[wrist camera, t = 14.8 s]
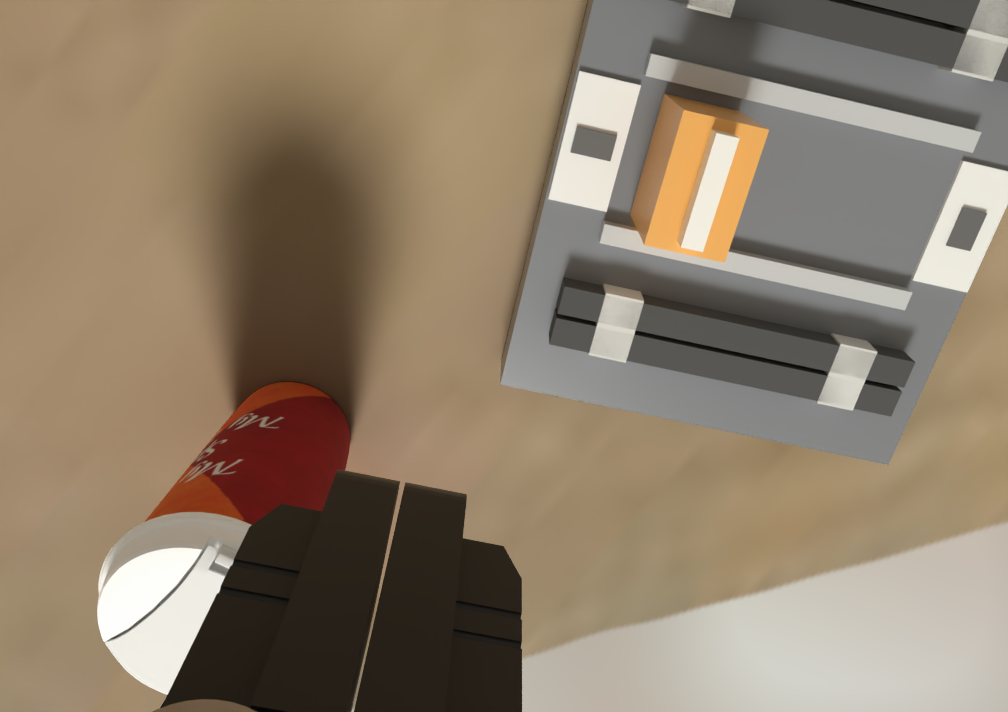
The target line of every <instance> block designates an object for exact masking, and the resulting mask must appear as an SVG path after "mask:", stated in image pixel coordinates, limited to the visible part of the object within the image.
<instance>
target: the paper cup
mask: <svg viewBox="0 0 1008 712" xmlns="http://www.w3.org/2000/svg"><path fill="white" fill-rule="evenodd" d="M349 447H350V430H349V425H348V422H347V419H346V417H345V415H344V413H343V411H342V410H341V408H340V407H339V406H338V404H337V403H336V402H335V401H334V400H333V399H332V398H331V397H329V396H328V395H327V394H325V393H324V392H322V391H321V390H319V389H317V388H315V387H312V386H310V385H307V384H303V383H298V382H278V383H273V384H269V385H267V386H264V387H262V388H260V389H258V390H257V391H255V392H254V393H253V394H251V395H250V396H249V397H248V398H247V399H246V400H245V401H244V402H243V403H242V404H241V405H240V406H239V407H238V409H237V410H236V411H235V412H234V413H233V414H232V415H231V417H230V418H229V419H228V420H227V421H226V423H225V424H224V425H223V426H222V427H221V429H220V430H219V431H218V432H217V433H216V435H215V436H214V437H213V438H212V440H211V441H210V442H209V443H208V444H207V446H206V447H205V448H204V449H203V451H202V452H201V453H200V454H199V455H198V457H197V458H196V459H195V460H194V462H193V463H192V464H191V465H190V466H189V468H188V469H187V470H186V471H185V473H184V474H183V475H182V476H181V478H180V479H179V480H178V481H177V483H176V484H175V485H174V486H173V487H172V489H171V490H170V491H169V492H168V494H167V495H166V496H165V497H164V499H163V500H162V501H161V502H160V504H159V505H158V506H157V507H156V508H155V510H154V511H153V512H152V513H151V515H150V516H149V517H148V518H147V520H146V521H145V522H144V523H142V524H140V525H138V526H136V527H134V528H133V529H131V530H130V531H129V532H127V533H126V534H124V535H123V536H122V537H121V538H120V539H119V540H118V541H117V543H116V544H115V545H114V546H113V547H112V549H111V550H110V552H109V553H108V555H107V557H106V558H105V560H104V563H103V566H102V569H101V572H100V578H99V585H98V587H99V599H98V606H97V615H98V625H99V629H100V632H101V636H102V639H103V641H104V642H105V641H106V642H105V644H106V645H107V647H108V648H109V650H110V651H111V652H112V654H113V655H114V657H115V658H116V659H117V660H118V661H119V663H120V664H121V665H122V666H123V667H124V669H125V670H126V671H128V672H129V673H130V674H131V675H132V676H133V677H134V678H136V679H137V680H139V681H140V682H142V683H143V684H145V685H147V686H148V687H151V688H153V689H155V690H157V691H159V692H161V693H164V694H167V695H168V693H169V691H170V689H171V687H172V685H173V683H174V681H175V679H176V676H177V674H178V672H179V670H180V668H181V666H182V664H183V662H184V660H185V658H186V656H187V654H188V652H189V650H190V648H191V646H192V644H193V642H194V640H195V638H196V636H197V633H198V631H199V629H200V627H201V625H202V623H203V621H204V619H205V617H206V615H207V613H208V611H209V609H210V607H211V605H212V603H213V601H214V599H215V597H216V595H217V593H219V591H220V587H221V584H222V582H223V580H224V578H225V576H226V574H227V572H228V570H229V568H230V566H231V565H233V561H234V558H235V556H236V554H237V551H238V549H239V547H240V545H241V543H242V541H243V539H244V537H245V535H246V533H247V531H248V529H249V527H250V526H251V525H253V524H254V523H255V522H257V521H258V520H260V519H261V518H262V517H264V516H265V515H266V514H268V513H269V512H270V511H272V510H273V509H275V508H276V507H277V506H279V505H280V504H287V505H292V506H297V507H302V508H307V509H312V510H317V511H322V510H323V507H324V505H325V502H326V499H327V496H328V494H329V491H330V488H331V486H332V483H333V480H334V477H335V475H336V472H337V470H338V469H339V470H344V471H345V468H346V464H347V459H348V454H349Z"/></svg>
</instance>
